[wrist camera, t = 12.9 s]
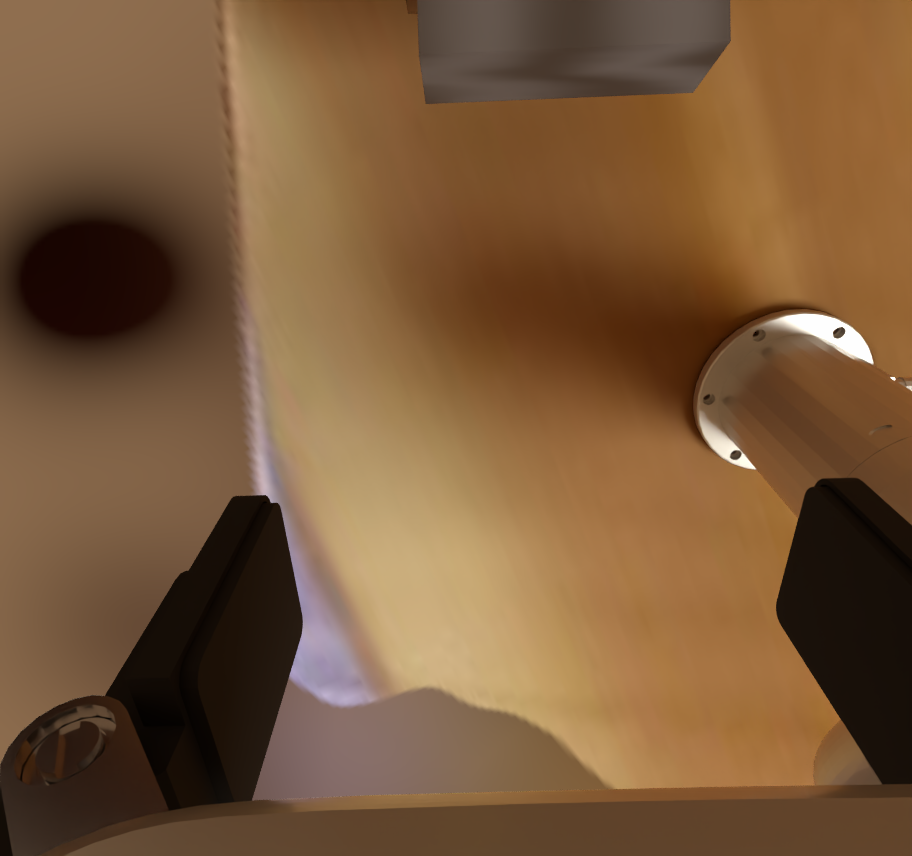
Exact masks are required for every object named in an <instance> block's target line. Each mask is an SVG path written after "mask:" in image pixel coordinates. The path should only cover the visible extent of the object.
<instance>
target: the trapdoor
mask: <svg viewBox="0 0 912 856" xmlns="http://www.w3.org/2000/svg"><path fill="white" fill-rule="evenodd" d="M406 3H407V9H408V14H412V13H418V37H419V57H420V65H421V72H422V79H423V87H424V94H425V101H426V104H434V103H458V102H482V101H506V100H530V99H554V98H578V97H602V96H626V95H650V94H674V93H693V92H694V91H695V89H696V88H697V86H698V85H699V84H700V82H701V81H702V80H703V78H704V77H705V75H706V74H707V73H708V71H709V70H710V69H711V67H712V66H713V64H714V63H715V62H716V60H717V59H718V58H719V56H720V55H721V54H722V52H723V51H724V49H725V48H726V47H727V45H728V44H729V43H730V41H731V38H730V0H406Z"/></svg>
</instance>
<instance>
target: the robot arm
mask: <svg viewBox="0 0 912 856" xmlns="http://www.w3.org/2000/svg"><path fill="white" fill-rule="evenodd" d="M755 331H757V332H756V333H755V334H754V332H755ZM706 395H707V396H706ZM704 396H706V397H704ZM693 413H694V418H695V422H696V426H697V428H698V430H699V432H700V434H701V436H702V438H703V439H704V440H705V442H706V443H707V444H708V446H709V447H710V448H711V449H712V450H713V451H714V452H715V453H716V454H717V455H718V456H719V457H721V458H722V459H724V460H726V461H727V462H729V463H731V464H733V465H736V466H739V467H742V468H746V469H753V470H757V471H758V472H759V473H760V474H761V475H762V476H763V478H764V479H765V480H766V481H767V482H768V484H769V485H770V486H771V487H772V488H773V489H774V491H775V492H776V493H777V494H778V495H779V497H780V498H781V499H782V500H783V501H784V502H785V504H786V505H787V506H788V507H789V508H790V509H791V511H792V512H793V513H794V514H795V515H796V517H797V518H798V522H797V526H796V530H795V534H794V537H793V541H792V545H791V549H790V553H789V557H788V560H787V564H786V568H785V572H784V576H783V580H782V583H781V587H780V591H779V595H778V599H777V603H776V612H777V617H778V620H779V622H780V624H781V626H782V627H783V629H784V631H785V632H786V634H787V635H788V637H789V638H790V640H791V642H792V643H793V645H794V646H795V648H796V649H797V651H798V653H799V654H800V656H801V657H802V659H803V660H804V662H805V664H806V665H807V667H808V668H809V670H810V671H811V673H812V675H813V676H814V678H815V679H816V681H817V682H818V684H819V686H820V687H821V689H822V690H823V692H824V693H825V695H826V697H827V698H828V700H829V701H830V703H831V704H832V706H833V708H834V709H835V711H836V712H837V714H838V715H839V717H840V719H841V720H840V721H839V722H838V723H837V724H836V725H835V726H834V727H833V728H832V729H831V730H830V731H829V732H828V733H827V735H826V736H825V737H824V739H823V741H822V742H821V744H820V746H819V748H818V750H817V753H816V756H815V760H814V770H813V778H814V784H815V786H751V787H699V788H649V789H604V790H559V791H557V790H556V791H520V792H519V791H518V792H517V791H516V792H477V793H440V794H407V795H406V794H404V795H403V794H402V795H365V796H342V797H319V798H298V799H274V800H254V801H252V798H253V795H254V791H255V788H256V785H257V781H258V778H259V775H260V771H261V768H262V764H263V761H264V758H265V755H266V751H267V748H268V745H269V741H270V738H271V735H272V731H273V728H274V725H275V721H276V718H277V714H278V711H279V708H280V705H281V701H282V698H283V695H284V692H285V688H286V685H287V681H288V678H289V675H290V672H291V668H292V665H293V662H294V658H295V655H296V652H297V648H298V645H299V642H300V638H301V634H302V626H303V619H302V612H301V607H300V602H299V597H298V592H297V587H296V582H295V577H294V572H293V567H292V562H291V557H290V552H289V547H288V542H287V537H286V532H285V527H284V522H283V517H282V512H281V508H280V505H279V504H278V503H271V502H270V500H269V498H268V497H267V496H266V495H257V496H235V497H233V498H232V499H231V500H230V502H229V504H228V505H227V507H226V509H225V510H224V512H223V514H222V515H221V517H220V519H219V521H218V522H217V524H216V525H215V528H214V529H213V531H212V532H211V534H210V536H209V537H208V539H207V541H206V542H205V544H204V546H203V547H202V550H201V551H200V553H199V554H198V556H197V558H196V559H195V561H194V563H193V564H192V566H191V568H190V569H189V571H185V572H183V573H181V574H180V575H179V576H178V577H177V579H176V580H175V581H174V583H173V585H172V587H171V588H170V590H169V591H168V593H167V595H166V596H165V598H164V600H163V601H162V603H161V605H160V606H159V608H158V609H157V611H156V613H155V614H154V616H153V618H152V619H151V621H150V622H149V624H148V626H147V627H146V629H145V631H144V632H143V634H142V636H141V637H140V639H139V641H138V642H137V644H136V646H135V647H134V649H133V650H132V652H131V654H130V655H129V657H128V659H127V660H126V662H125V664H124V665H123V667H122V668H121V670H120V672H119V673H118V675H117V677H116V679H115V680H114V682H113V684H112V685H111V686H110V688H109V690H108V691H107V693H106V695H105V696H96V695H91V696H86V697H81V698H77V699H73V700H70V701H68V702H65V703H63V704H61V705H58V706H56V707H54V708H52V709H51V710H49V711H47V712H46V713H44V714H43V715H41V716H39V717H38V718H36V719H35V720H34V721H33V722H32V723H31V724H29V725H28V726H27V727H26V728H25V729H24V730H22V731H21V732H20V733H19V735H18V736H17V737H16V739H15V740H14V741H13V742H12V743H11V745H10V746H9V747H8V749H7V751H6V753H5V755H4V758H3V760H2V762H1V764H0V856H912V377H899V378H894V377H892V376H891V375H889V374H887V373H886V372H884V371H882V370H881V369H879V368H877V367H876V366H874V361H873V357H872V354H871V352H870V349H869V346H868V344H867V343H866V341H865V340H864V338H863V337H862V335H861V334H860V333H859V332H858V331H856V330H855V329H854V328H853V327H852V326H851V325H850V324H848V323H846V322H844V321H843V320H841V319H839V318H837V317H835V316H832V315H830V314H827V313H825V312H822V311H815V310H809V309H792V310H785V311H780V312H775V313H771V314H768V315H766V316H763V317H760V318H758V319H755V320H753V321H751V322H750V323H748V324H746V325H745V326H743V327H741V328H739V329H738V330H737V331H735V332H734V333H733V334H732V335H730V336H729V337H728V338H727V339H725V340H724V341H723V342H722V343H721V344H720V346H719V347H718V348H717V349H716V350H715V351H714V352H713V353H712V355H711V356H710V358H709V359H708V361H707V362H706V364H705V366H704V367H703V369H702V371H701V373H700V376H699V378H698V381H697V383H696V388H695V392H694V397H693Z"/></svg>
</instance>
